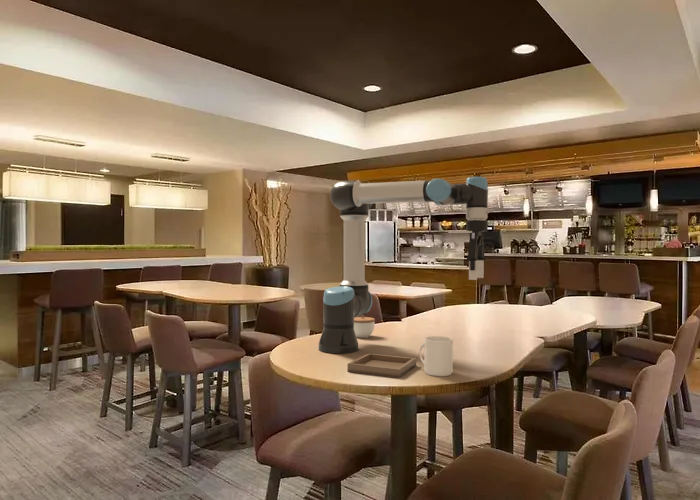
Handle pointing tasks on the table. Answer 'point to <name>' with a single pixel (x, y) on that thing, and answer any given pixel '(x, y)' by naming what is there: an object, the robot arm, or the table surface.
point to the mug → (437, 356)
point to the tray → (382, 365)
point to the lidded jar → (363, 326)
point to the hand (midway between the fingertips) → (476, 278)
